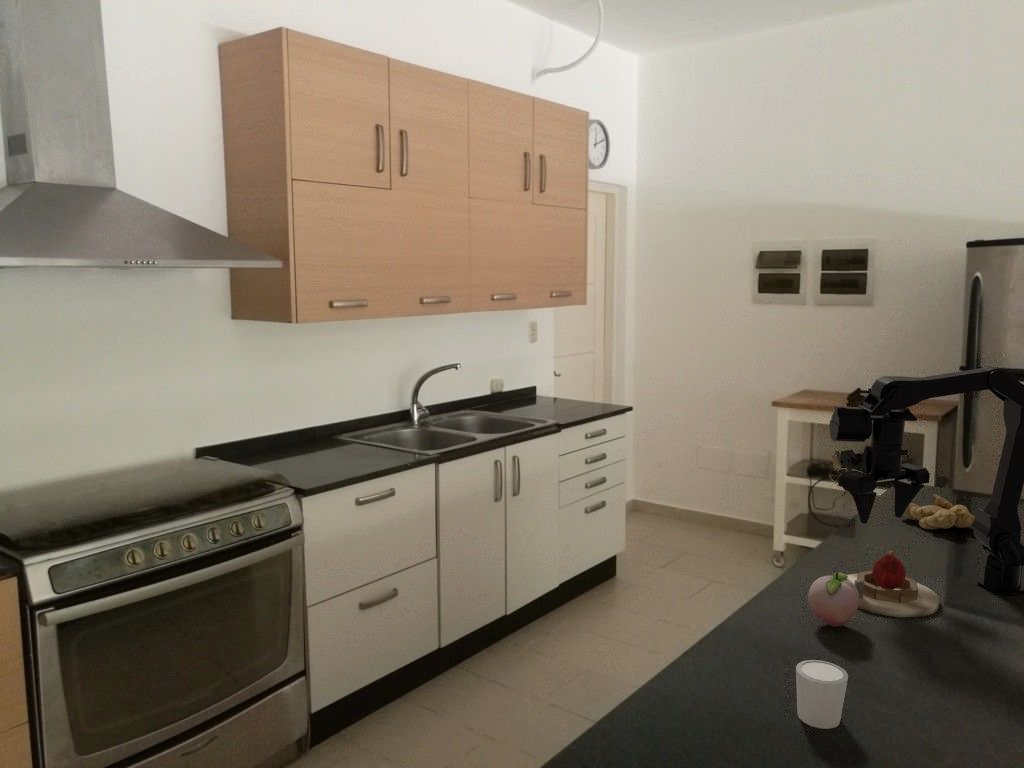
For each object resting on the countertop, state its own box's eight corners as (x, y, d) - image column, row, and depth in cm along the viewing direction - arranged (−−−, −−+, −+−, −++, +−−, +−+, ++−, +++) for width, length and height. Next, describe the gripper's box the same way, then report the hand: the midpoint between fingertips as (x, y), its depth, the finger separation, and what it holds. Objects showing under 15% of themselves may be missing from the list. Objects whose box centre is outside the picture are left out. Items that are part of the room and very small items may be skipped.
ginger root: (995, 532, 192) (989, 499, 191) (926, 547, 193) (920, 515, 192) (960, 514, 208) (955, 483, 207) (897, 528, 208) (891, 497, 207)
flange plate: (884, 573, 170) (885, 554, 169) (961, 608, 153) (963, 586, 153) (814, 586, 163) (816, 566, 162) (887, 624, 146) (889, 601, 146)
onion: (906, 599, 154) (911, 558, 153) (873, 595, 156) (877, 555, 154) (899, 586, 160) (904, 547, 158) (867, 582, 161) (871, 544, 160)
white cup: (785, 705, 120) (787, 659, 119) (831, 703, 120) (834, 658, 119) (805, 732, 113) (808, 684, 112) (854, 730, 114) (857, 682, 112)
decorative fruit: (809, 611, 151) (813, 559, 150) (858, 620, 148) (862, 567, 146) (803, 632, 143) (806, 576, 141) (854, 642, 139) (858, 585, 138)
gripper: (887, 430, 172) (881, 503, 174) (819, 438, 164) (814, 514, 167) (934, 441, 162) (928, 518, 164) (864, 450, 154) (858, 531, 156)
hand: (881, 520), depth 163 cm, fingers open, 9 cm apart
